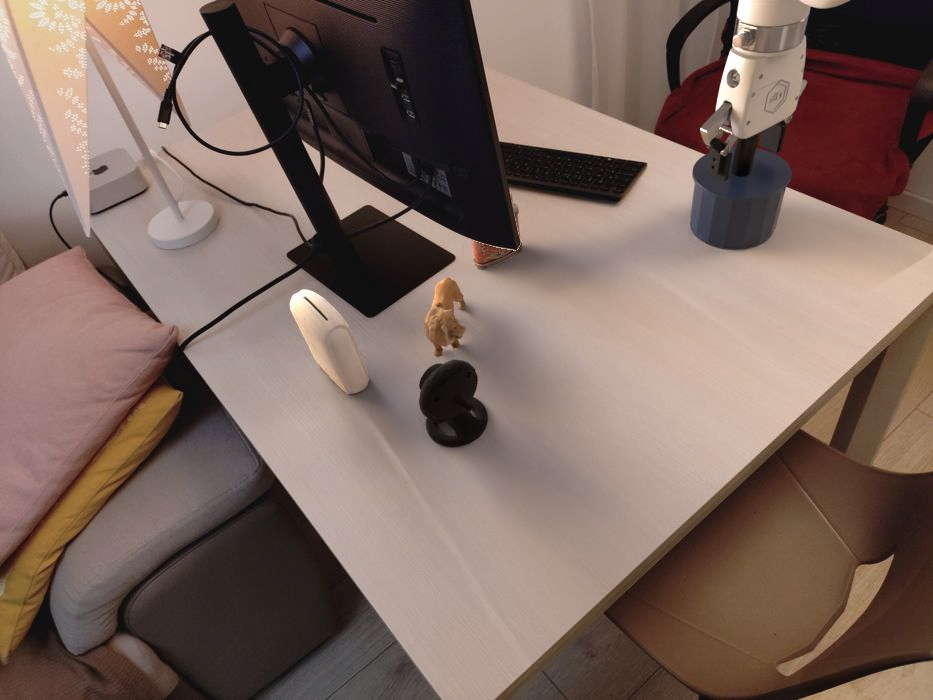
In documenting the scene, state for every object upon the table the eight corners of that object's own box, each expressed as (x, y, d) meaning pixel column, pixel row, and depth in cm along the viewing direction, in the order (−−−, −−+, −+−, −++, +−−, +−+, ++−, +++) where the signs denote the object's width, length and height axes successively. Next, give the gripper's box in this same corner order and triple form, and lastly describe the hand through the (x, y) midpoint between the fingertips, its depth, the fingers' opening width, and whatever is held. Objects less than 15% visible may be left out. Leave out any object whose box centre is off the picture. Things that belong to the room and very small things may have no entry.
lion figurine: (474, 370, 81) (463, 321, 74) (433, 376, 81) (419, 328, 74) (465, 294, 91) (455, 245, 84) (429, 300, 91) (416, 251, 84)
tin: (792, 225, 90) (807, 174, 84) (733, 260, 87) (743, 210, 81) (729, 192, 98) (738, 143, 91) (672, 223, 95) (678, 174, 88)
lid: (811, 178, 84) (824, 133, 80) (742, 217, 81) (752, 172, 76) (737, 144, 92) (745, 101, 88) (672, 178, 89) (676, 135, 84)
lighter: (481, 273, 93) (471, 217, 86) (470, 261, 96) (460, 206, 88) (527, 251, 95) (521, 195, 88) (515, 240, 97) (508, 184, 90)
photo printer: (311, 359, 86) (278, 293, 77) (337, 342, 88) (308, 275, 79) (348, 401, 80) (317, 334, 71) (376, 382, 82) (349, 315, 73)
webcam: (461, 388, 79) (447, 333, 72) (502, 420, 75) (492, 365, 67) (413, 425, 76) (394, 372, 69) (453, 461, 72) (437, 409, 64)
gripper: (739, 66, 68) (717, 200, 80) (850, 13, 72) (812, 148, 85) (688, 47, 73) (675, 176, 85) (794, -1, 77) (767, 128, 90)
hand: (743, 162), depth 85 cm, fingers open, 9 cm apart
